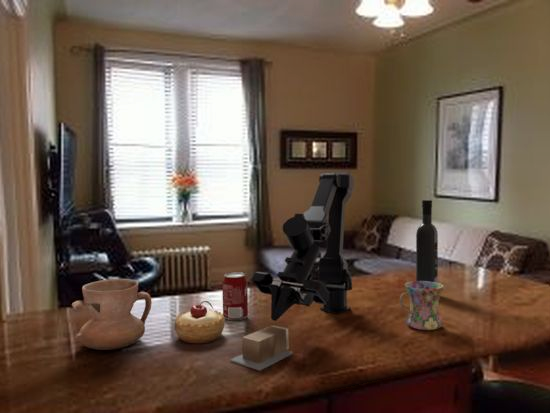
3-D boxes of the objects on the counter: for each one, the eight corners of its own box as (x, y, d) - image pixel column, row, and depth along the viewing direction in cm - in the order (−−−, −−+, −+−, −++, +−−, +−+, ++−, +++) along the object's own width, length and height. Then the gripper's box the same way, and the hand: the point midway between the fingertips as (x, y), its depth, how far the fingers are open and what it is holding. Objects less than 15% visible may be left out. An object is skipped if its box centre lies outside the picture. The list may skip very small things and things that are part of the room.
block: (272, 324, 106) (242, 337, 98) (288, 328, 103) (258, 341, 95) (272, 344, 106) (242, 358, 98) (288, 348, 103) (259, 363, 96)
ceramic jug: (80, 362, 99) (77, 296, 98) (68, 342, 111) (65, 283, 110) (163, 344, 108) (161, 284, 108) (144, 328, 121) (142, 273, 120)
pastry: (181, 329, 120) (180, 294, 119) (227, 329, 119) (227, 294, 119) (169, 346, 108) (168, 308, 107) (221, 346, 107) (220, 307, 107)
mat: (264, 345, 107) (264, 344, 106) (292, 353, 102) (292, 351, 102) (230, 361, 98) (230, 359, 98) (259, 370, 93) (259, 368, 93)
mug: (426, 319, 124) (426, 279, 123) (451, 329, 116) (452, 286, 115) (388, 325, 119) (388, 284, 119) (412, 336, 111) (412, 292, 110)
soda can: (244, 322, 124) (243, 277, 123) (219, 321, 125) (218, 276, 125) (250, 315, 131) (249, 272, 130) (227, 314, 132) (226, 271, 131)
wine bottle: (438, 294, 149) (438, 200, 147) (433, 298, 144) (434, 201, 142) (420, 292, 152) (420, 199, 150) (415, 296, 147) (415, 200, 145)
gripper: (349, 286, 110) (324, 346, 102) (284, 276, 121) (258, 330, 113) (330, 257, 103) (302, 320, 95) (264, 250, 114) (234, 305, 106)
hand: (273, 319), depth 103 cm, fingers closed
